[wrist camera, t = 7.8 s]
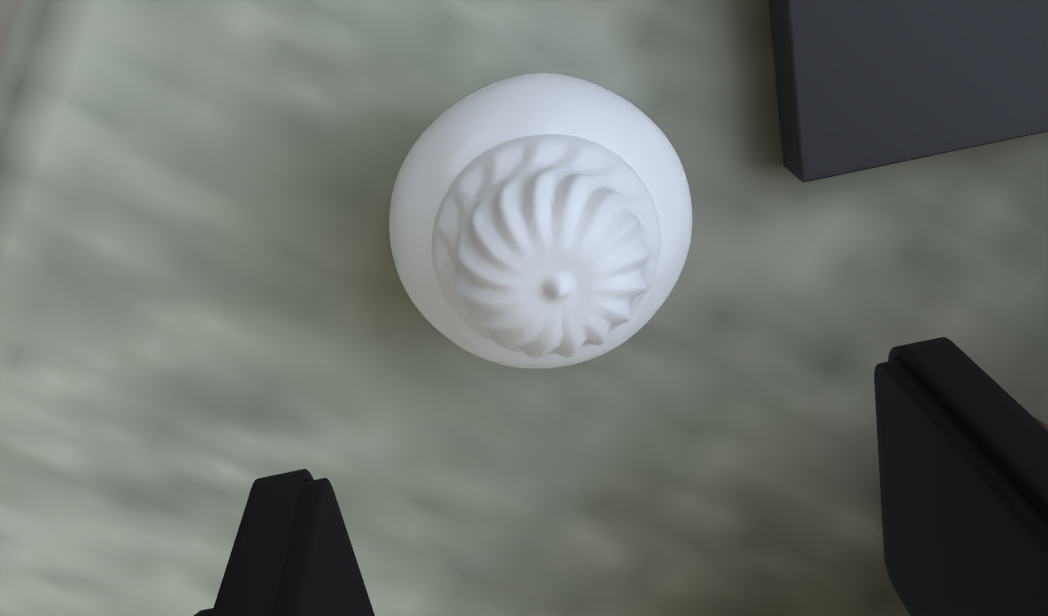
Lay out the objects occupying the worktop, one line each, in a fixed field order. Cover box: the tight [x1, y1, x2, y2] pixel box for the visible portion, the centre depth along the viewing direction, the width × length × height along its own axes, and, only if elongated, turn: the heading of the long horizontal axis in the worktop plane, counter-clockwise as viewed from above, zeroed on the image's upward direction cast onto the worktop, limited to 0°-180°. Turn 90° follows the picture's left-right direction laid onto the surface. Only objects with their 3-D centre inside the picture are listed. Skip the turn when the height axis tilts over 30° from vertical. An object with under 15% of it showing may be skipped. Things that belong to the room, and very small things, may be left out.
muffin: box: [389, 73, 692, 369], centre depth 20 cm, size 6×6×7 cm
